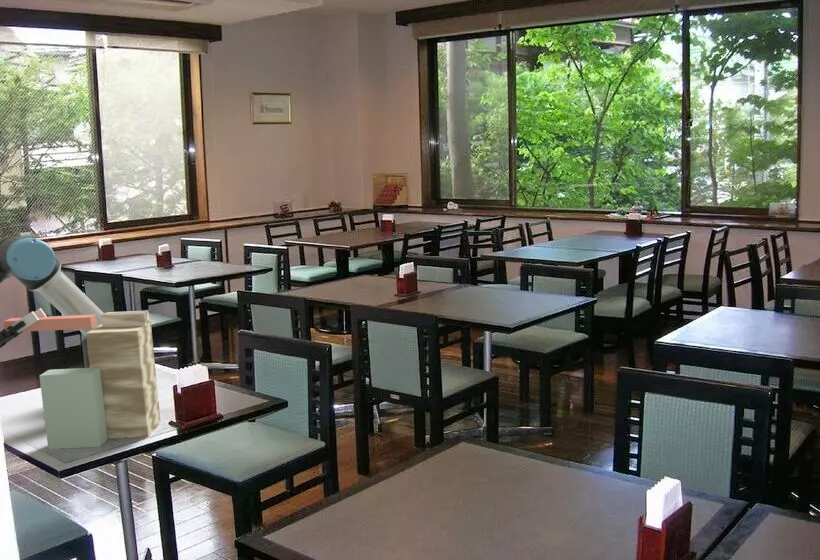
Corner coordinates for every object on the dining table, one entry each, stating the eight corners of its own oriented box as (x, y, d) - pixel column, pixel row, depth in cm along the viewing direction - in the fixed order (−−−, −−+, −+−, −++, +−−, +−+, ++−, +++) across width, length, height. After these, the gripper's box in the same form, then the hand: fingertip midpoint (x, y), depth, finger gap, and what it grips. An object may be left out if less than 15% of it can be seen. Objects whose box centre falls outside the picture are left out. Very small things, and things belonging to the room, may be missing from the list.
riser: (57, 441, 234) (48, 369, 230) (107, 439, 234) (99, 367, 230) (48, 449, 228) (39, 375, 224) (100, 446, 228) (91, 373, 224)
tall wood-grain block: (112, 424, 246) (100, 312, 241) (160, 422, 246) (149, 309, 241) (97, 439, 234) (84, 320, 229) (148, 436, 234) (135, 318, 229)
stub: (11, 329, 228) (10, 318, 227) (97, 325, 227) (95, 314, 227) (4, 332, 224) (3, 321, 223) (91, 328, 223) (90, 317, 223)
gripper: (-7, 363, 236) (60, 319, 234) (-40, 380, 219) (33, 332, 217) (-24, 341, 235) (44, 296, 233) (-57, 356, 218) (16, 308, 216)
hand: (39, 314), depth 225 cm, fingers closed on stub, 4 cm apart
